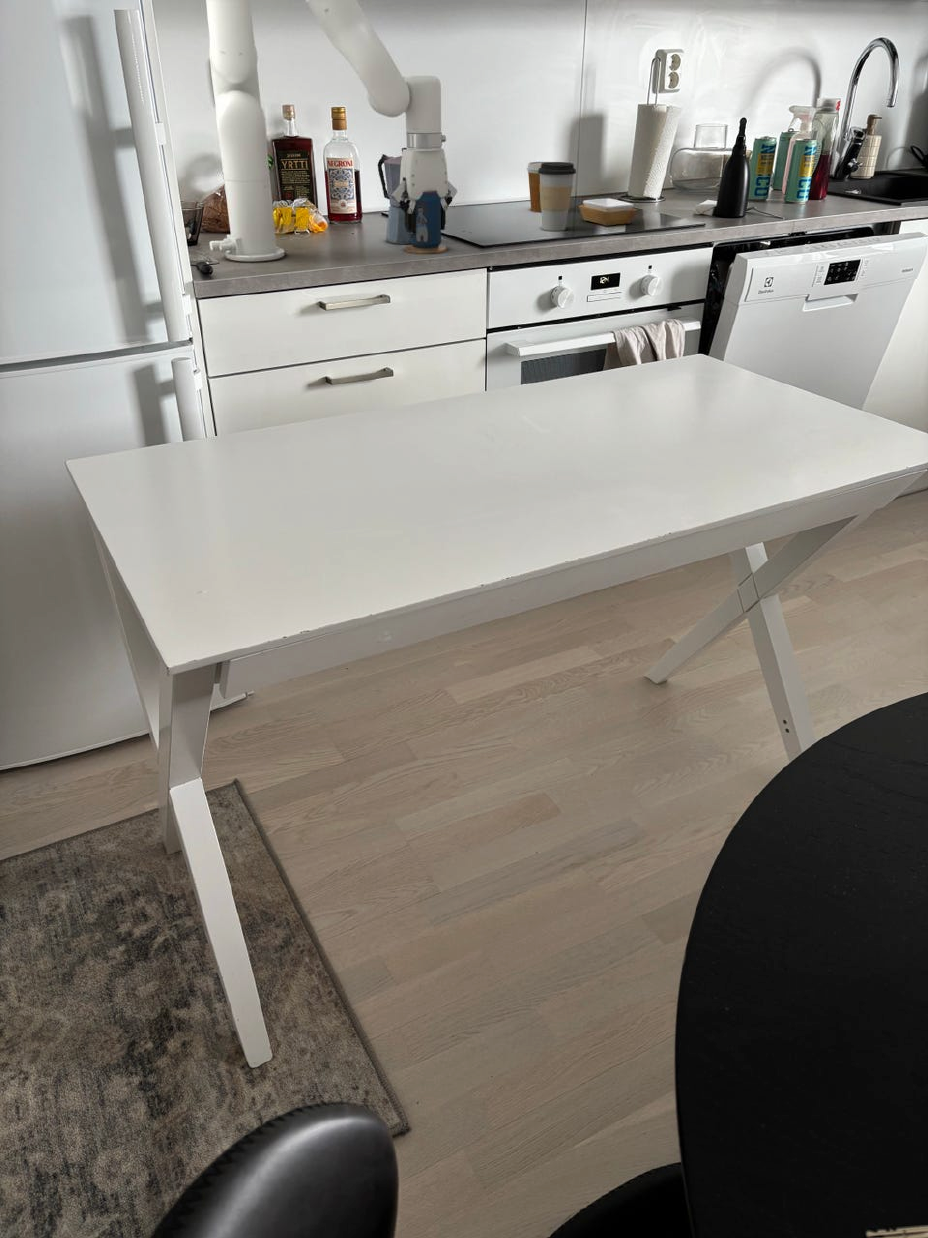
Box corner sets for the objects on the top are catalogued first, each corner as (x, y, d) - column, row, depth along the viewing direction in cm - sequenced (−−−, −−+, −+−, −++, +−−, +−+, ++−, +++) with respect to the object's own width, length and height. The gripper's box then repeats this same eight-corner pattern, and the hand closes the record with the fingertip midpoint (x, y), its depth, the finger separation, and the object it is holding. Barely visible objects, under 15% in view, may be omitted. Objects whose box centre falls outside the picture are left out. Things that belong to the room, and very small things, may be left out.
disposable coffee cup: (526, 207, 267) (528, 160, 260) (559, 208, 266) (562, 161, 259) (523, 212, 259) (525, 164, 252) (558, 213, 258) (560, 165, 251)
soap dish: (577, 220, 247) (578, 199, 244) (607, 217, 251) (608, 197, 248) (606, 227, 238) (607, 205, 235) (636, 224, 242) (638, 203, 239)
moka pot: (415, 247, 213) (412, 150, 203) (365, 240, 221) (360, 146, 211) (441, 241, 220) (440, 147, 209) (391, 234, 228) (388, 143, 217)
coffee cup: (527, 228, 235) (530, 163, 227) (551, 224, 241) (554, 160, 233) (557, 233, 230) (560, 166, 222) (580, 228, 236) (584, 163, 228)
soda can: (436, 244, 214) (435, 187, 208) (445, 249, 209) (444, 191, 203) (407, 245, 213) (405, 188, 206) (415, 251, 207) (414, 192, 201)
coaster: (418, 255, 206) (418, 252, 205) (398, 248, 212) (398, 246, 212) (453, 251, 210) (453, 248, 210) (433, 244, 216) (433, 242, 216)
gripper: (449, 138, 206) (449, 224, 215) (379, 142, 198) (383, 231, 208) (467, 141, 201) (467, 229, 210) (396, 145, 193) (399, 236, 202)
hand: (425, 229), depth 209 cm, fingers closed on soda can, 7 cm apart
